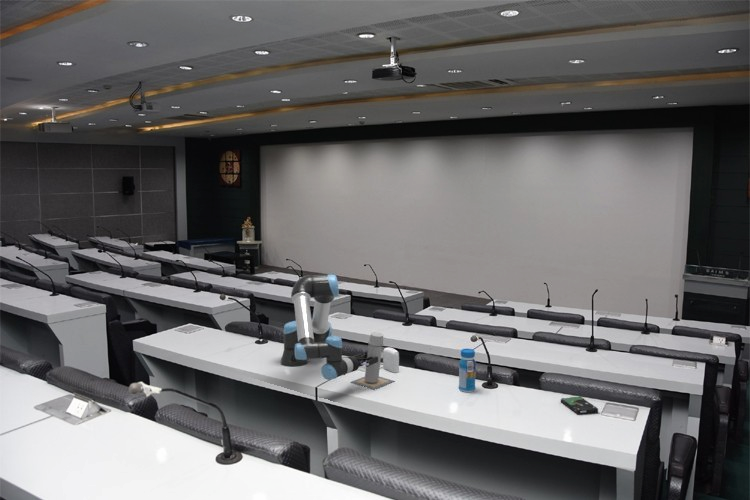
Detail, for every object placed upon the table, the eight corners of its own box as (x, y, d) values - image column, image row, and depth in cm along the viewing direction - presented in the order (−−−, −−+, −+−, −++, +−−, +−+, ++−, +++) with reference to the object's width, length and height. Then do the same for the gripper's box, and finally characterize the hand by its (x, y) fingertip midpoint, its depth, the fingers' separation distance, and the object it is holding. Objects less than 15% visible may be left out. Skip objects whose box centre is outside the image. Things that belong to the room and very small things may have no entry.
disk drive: (598, 414, 244) (580, 401, 258) (598, 408, 244) (580, 395, 258) (577, 416, 242) (559, 403, 256) (577, 410, 242) (560, 397, 256)
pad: (350, 382, 281) (350, 381, 281) (371, 374, 293) (371, 373, 293) (374, 390, 271) (374, 389, 271) (394, 381, 283) (394, 380, 283)
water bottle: (376, 385, 277) (382, 338, 273) (361, 381, 279) (367, 335, 275) (381, 378, 286) (386, 332, 282) (366, 375, 288) (372, 329, 283)
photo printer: (381, 368, 304) (382, 346, 302) (387, 367, 307) (387, 345, 305) (394, 373, 296) (394, 351, 295) (400, 371, 299) (400, 349, 297)
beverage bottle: (455, 390, 270) (456, 351, 268) (461, 385, 278) (462, 346, 276) (472, 393, 267) (473, 353, 264) (477, 388, 274) (478, 349, 272)
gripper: (336, 368, 273) (367, 358, 291) (361, 376, 262) (391, 364, 280) (336, 354, 272) (367, 344, 290) (361, 360, 261) (392, 350, 279)
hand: (379, 354), depth 285 cm, fingers open, 3 cm apart
